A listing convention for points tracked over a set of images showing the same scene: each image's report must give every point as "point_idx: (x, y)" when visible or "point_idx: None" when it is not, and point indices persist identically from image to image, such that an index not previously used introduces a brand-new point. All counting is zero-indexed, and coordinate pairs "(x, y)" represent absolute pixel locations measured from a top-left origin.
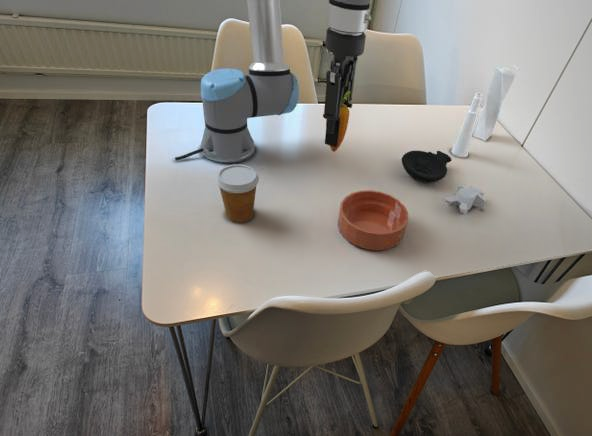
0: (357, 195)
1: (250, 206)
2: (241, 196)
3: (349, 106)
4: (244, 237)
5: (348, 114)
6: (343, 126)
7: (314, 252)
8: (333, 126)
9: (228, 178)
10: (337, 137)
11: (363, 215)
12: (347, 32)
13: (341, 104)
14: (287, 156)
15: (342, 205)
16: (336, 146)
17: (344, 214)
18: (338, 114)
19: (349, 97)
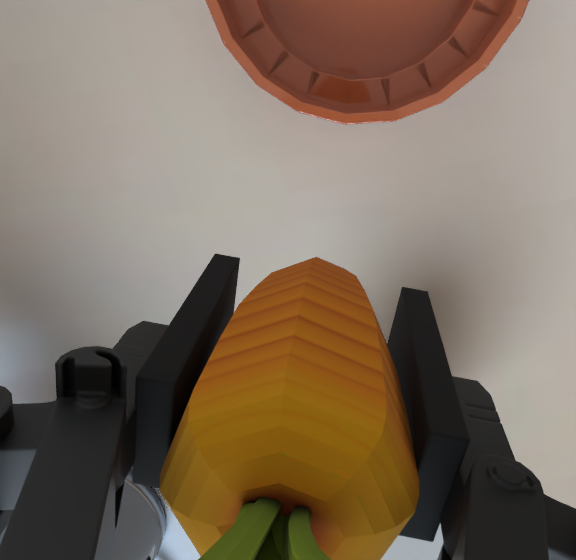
0: (248, 54)
1: None
2: None
3: (121, 382)
4: (490, 382)
5: (310, 367)
6: (378, 337)
7: (538, 169)
8: (504, 441)
9: (423, 549)
10: (436, 330)
11: (298, 7)
12: None
13: (310, 533)
14: (30, 355)
15: (362, 114)
16: (425, 293)
17: (365, 94)
18: (524, 513)
19: (39, 462)
